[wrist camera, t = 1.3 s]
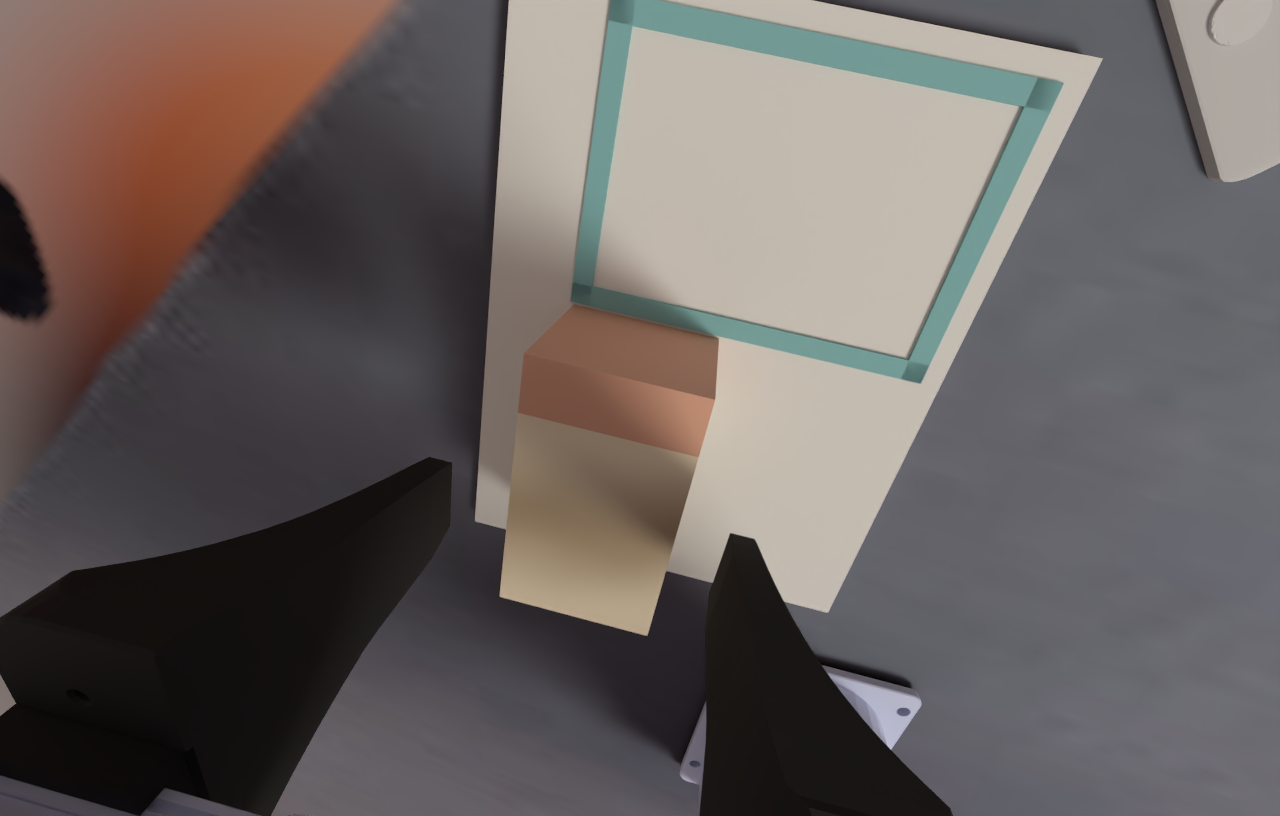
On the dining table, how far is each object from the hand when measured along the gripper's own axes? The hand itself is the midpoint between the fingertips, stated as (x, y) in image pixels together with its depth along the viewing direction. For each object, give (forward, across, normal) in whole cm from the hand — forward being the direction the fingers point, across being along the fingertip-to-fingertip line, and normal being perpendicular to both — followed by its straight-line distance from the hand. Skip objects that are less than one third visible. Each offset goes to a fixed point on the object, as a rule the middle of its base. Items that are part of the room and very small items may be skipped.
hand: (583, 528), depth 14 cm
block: (+5, 0, 0) cm, 5 cm away
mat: (+6, -2, -3) cm, 7 cm away
